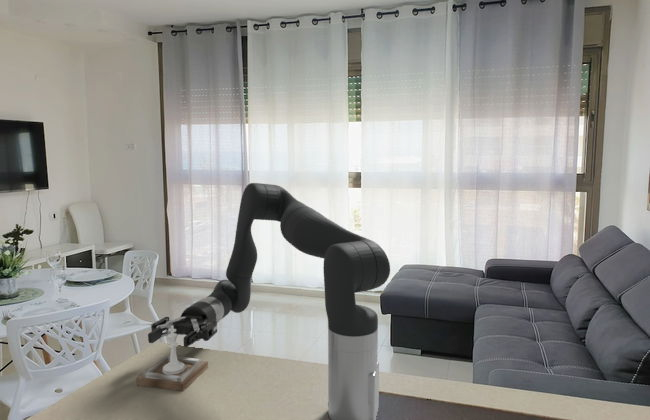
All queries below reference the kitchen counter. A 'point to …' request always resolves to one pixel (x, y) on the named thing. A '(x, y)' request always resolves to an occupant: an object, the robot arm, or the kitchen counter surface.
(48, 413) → the kitchen counter surface
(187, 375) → the walnut board
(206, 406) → the kitchen counter surface
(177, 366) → the chess piece
